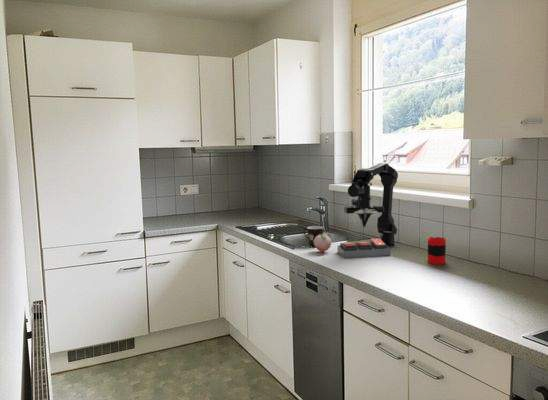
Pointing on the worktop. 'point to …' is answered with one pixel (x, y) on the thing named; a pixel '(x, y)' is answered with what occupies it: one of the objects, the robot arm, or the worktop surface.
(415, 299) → the worktop surface
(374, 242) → the rocker
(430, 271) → the worktop surface
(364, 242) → the middle rocker
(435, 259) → the soda can
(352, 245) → the rocker
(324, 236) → the decorative fruit
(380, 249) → the power strip
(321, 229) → the coffee mug
